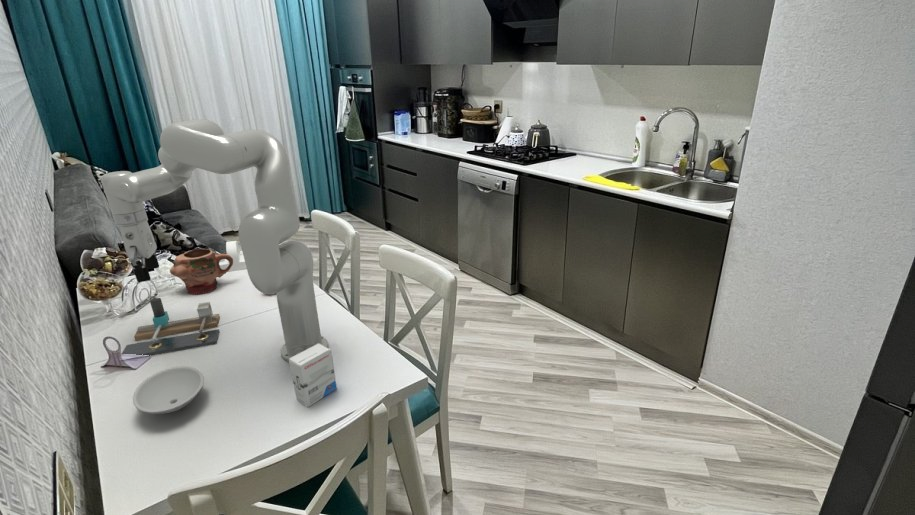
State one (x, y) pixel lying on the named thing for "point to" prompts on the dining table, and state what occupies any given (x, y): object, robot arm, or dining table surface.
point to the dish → (168, 390)
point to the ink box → (313, 374)
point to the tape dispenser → (233, 257)
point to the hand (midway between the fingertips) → (149, 274)
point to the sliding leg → (158, 316)
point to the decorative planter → (200, 269)
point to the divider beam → (182, 324)
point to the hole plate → (173, 343)
